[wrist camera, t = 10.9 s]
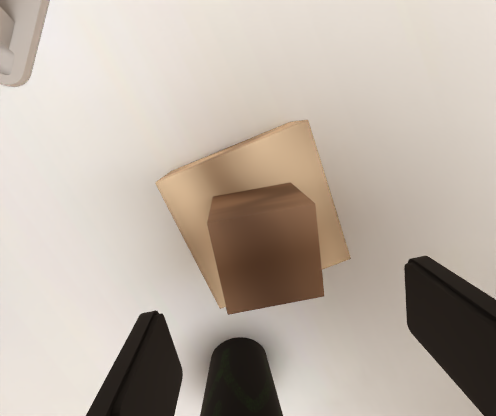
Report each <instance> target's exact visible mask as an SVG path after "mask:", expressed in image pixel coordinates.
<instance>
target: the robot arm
mask: <svg viewBox="0 0 496 416" xmlns="http://www.w3.org/2000/svg"><path fill="white" fill-rule="evenodd" d="M405 289H406V311H407V325H408V328H409V330H410V332H411V333H412V334H413V335H414V336H415V338H416V339H417V340H418V341H419V342H420V343H421V344H422V346H423V347H424V348H425V349H426V350H427V351H428V352H429V354H430V355H431V356H432V357H433V358H434V359H435V360H436V361H437V363H438V364H439V365H440V366H441V367H442V368H443V369H444V371H445V372H446V373H447V374H448V375H449V376H450V377H451V379H452V380H453V381H454V382H455V383H456V384H457V385H458V387H459V388H460V389H461V390H462V391H463V392H464V393H465V394H466V396H467V397H468V398H469V399H470V400H471V401H472V402H473V404H474V405H475V406H476V407H477V408H478V409H479V410H480V412H481V413H482V414H483V415H484V416H496V300H495V299H494V298H492V297H491V296H489V295H487V294H486V293H484V292H483V291H481V290H480V289H478V288H476V287H475V286H473V285H472V284H470V283H469V282H467V281H466V280H464V279H462V278H461V277H459V276H458V275H456V274H455V273H453V272H451V271H450V270H448V269H447V268H445V267H444V266H442V265H440V264H439V263H437V262H436V261H434V260H433V259H431V258H430V257H428V256H422V257H417V258H412V259H409V261H408V263H407V264H405ZM182 376H183V373H182V367H181V364H180V361H179V358H178V355H177V352H176V349H175V347H174V344H173V341H172V338H171V335H170V332H169V329H168V326H167V323H166V320H165V317H164V315H163V314H159V313H158V311H152V312H147V313H142V314H140V316H139V318H138V319H137V321H136V323H135V325H134V327H133V329H132V331H131V333H130V334H129V336H128V338H127V340H126V342H125V344H124V346H123V347H122V349H121V351H120V353H119V355H118V357H117V359H116V361H115V362H114V364H113V366H112V368H111V370H110V372H109V374H108V375H107V377H106V379H105V381H104V383H103V385H102V387H101V388H100V390H99V392H98V394H97V396H96V398H95V400H94V401H93V403H92V405H91V407H90V409H89V411H88V413H87V415H86V416H174V414H175V409H176V405H177V400H178V396H179V391H180V387H181V382H182Z"/></svg>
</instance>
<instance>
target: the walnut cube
mask: <svg viewBox="0 0 496 416" xmlns="http://www.w3.org/2000/svg"><path fill="white" fill-rule="evenodd" d="M207 226H208V230H209V235H210V239H211V244H212V248H213V252H214V257H215V261H216V265H217V270H218V274H219V278H220V283H221V287H222V291H223V296H224V300H225V305H226V309H227V313H228V315H229V314H234V313H239V312H244V311H250V310H255V309H260V308H265V307H271V306H276V305H281V304H286V303H291V302H297V301H302V300H307V299H312V298H318V297H323V296H324V287H323V277H322V267H321V257H320V246H319V236H318V226H317V216H316V206H315V203H314V202H313V201H312V200H311V199H310V198H308V197H307V196H306V195H305V194H304V193H302V192H301V191H300V190H299V189H298V188H297V187H295V186H294V185H293V184H292V183H291V182H290V183H284V184H279V185H273V186H268V187H262V188H257V189H251V190H246V191H240V192H235V193H229V194H224V195H218V196H213V198H212V203H211V207H210V212H209V216H208V221H207Z"/></svg>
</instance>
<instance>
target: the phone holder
mask: <svg viewBox="0 0 496 416" xmlns="http://www.w3.org/2000/svg"><path fill="white" fill-rule="evenodd" d="M49 1H50V0H0V84H2V85H7V86H13V87H17V86H21V85H23V84H25V83H26V82H27V81H28V80H29V78H30V76H31V73H32V69H33V65H34V61H35V57H36V53H37V49H38V45H39V41H40V37H41V33H42V29H43V25H44V21H45V17H46V13H47V9H48V5H49Z"/></svg>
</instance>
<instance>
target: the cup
mask: <svg viewBox="0 0 496 416" xmlns="http://www.w3.org/2000/svg"><path fill="white" fill-rule="evenodd" d="M200 416H283V414H282V410H281V407H280V403H279V400H278V396H277V392H276V389H275V385H274V382H273V378H272V374H271V371H270V367H269V364H268V360H267V356H266V353H265V350H264V349H263V347H262V346H261V345H260V344H259V343H257V342H255V341H253V340H251V339H247V338H233V339H230V340H227V341H225V342H223V343H222V344H220V345H219V346H218V347H217V348H216V349H215V350H214V352H213V354H212V357H211V362H210V367H209V372H208V378H207V383H206V388H205V393H204V399H203V404H202V409H201V414H200Z"/></svg>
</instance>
